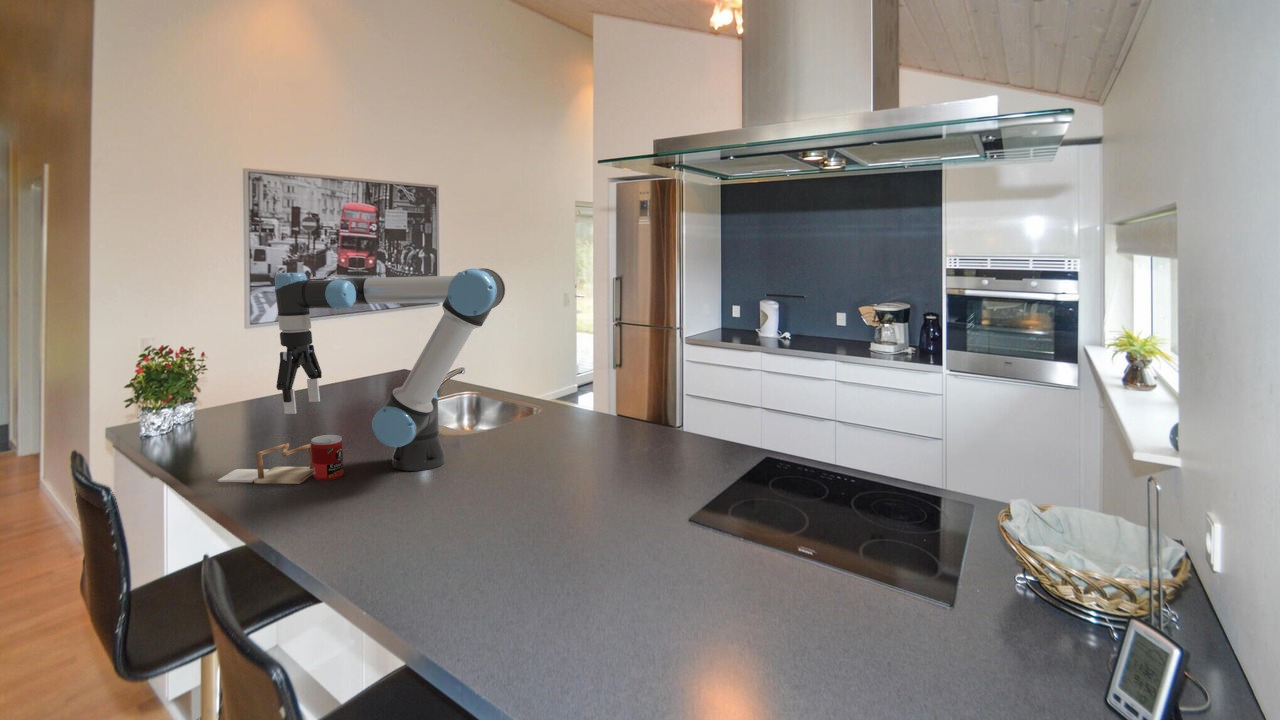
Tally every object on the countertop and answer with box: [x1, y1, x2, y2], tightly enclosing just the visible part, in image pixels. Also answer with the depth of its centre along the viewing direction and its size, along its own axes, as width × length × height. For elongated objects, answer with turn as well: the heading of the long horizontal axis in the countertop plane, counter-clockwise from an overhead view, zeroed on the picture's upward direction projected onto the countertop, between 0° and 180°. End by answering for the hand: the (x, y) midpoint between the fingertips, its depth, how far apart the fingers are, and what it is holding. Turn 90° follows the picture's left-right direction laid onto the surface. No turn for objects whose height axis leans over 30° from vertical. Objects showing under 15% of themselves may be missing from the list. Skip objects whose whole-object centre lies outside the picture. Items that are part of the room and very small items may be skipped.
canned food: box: [310, 434, 345, 482], centre depth 174 cm, size 8×8×11 cm
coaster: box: [217, 468, 270, 483], centre depth 173 cm, size 9×8×1 cm
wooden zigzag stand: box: [253, 442, 313, 485], centre depth 173 cm, size 12×10×8 cm
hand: (303, 407), depth 171 cm, fingers open, 13 cm apart
